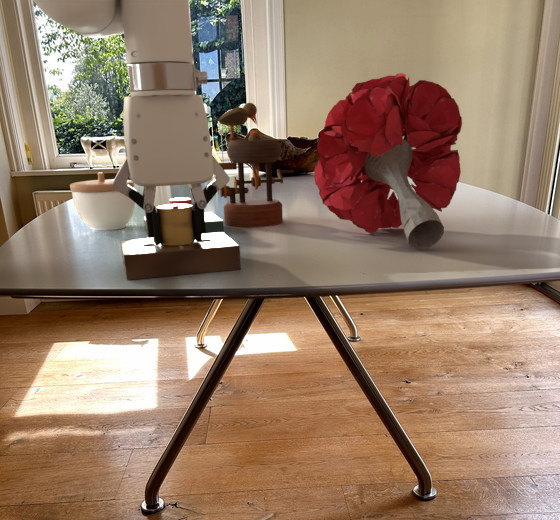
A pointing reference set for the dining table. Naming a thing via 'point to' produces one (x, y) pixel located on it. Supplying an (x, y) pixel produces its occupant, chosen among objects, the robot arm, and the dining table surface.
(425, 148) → the bouquet
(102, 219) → the trinket box
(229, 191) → the wooden bird automaton
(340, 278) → the dining table surface
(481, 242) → the dining table surface
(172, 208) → the golden brown short cylinder
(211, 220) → the button block
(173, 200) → the button
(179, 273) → the panel
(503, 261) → the dining table surface
